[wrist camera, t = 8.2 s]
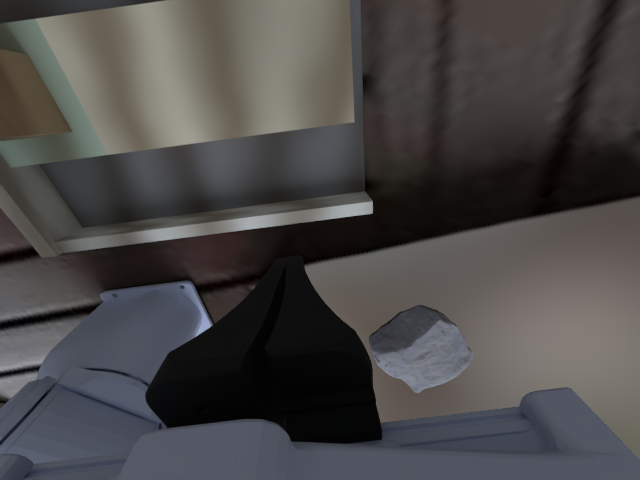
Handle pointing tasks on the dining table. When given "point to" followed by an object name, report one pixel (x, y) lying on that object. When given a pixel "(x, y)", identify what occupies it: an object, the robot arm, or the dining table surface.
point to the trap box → (186, 119)
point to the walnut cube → (26, 101)
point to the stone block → (420, 348)
